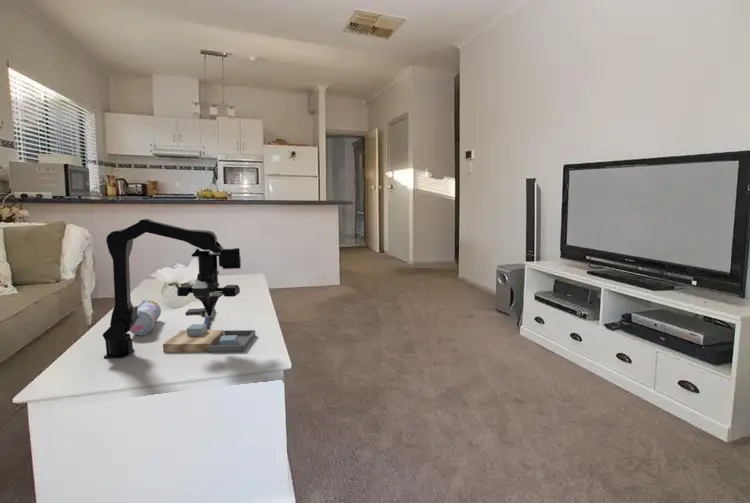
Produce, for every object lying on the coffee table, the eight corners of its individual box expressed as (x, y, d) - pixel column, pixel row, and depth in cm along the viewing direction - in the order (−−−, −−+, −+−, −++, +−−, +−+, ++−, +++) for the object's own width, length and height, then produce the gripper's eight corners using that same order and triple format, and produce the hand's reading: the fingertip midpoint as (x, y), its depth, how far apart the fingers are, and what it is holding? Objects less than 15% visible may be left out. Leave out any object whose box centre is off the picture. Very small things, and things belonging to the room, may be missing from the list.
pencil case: (138, 321, 174) (136, 298, 172) (162, 319, 176) (160, 297, 175) (127, 338, 154) (124, 312, 153) (154, 335, 157) (152, 310, 155)
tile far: (186, 335, 148) (186, 328, 148) (192, 331, 153) (192, 324, 153) (201, 335, 148) (201, 328, 148) (206, 331, 153) (206, 324, 153)
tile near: (219, 348, 143) (219, 340, 142) (222, 342, 147) (221, 335, 147) (235, 347, 143) (235, 339, 143) (237, 341, 148) (237, 334, 148)
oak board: (163, 351, 141) (162, 344, 140) (181, 337, 155) (181, 330, 154) (209, 351, 141) (209, 343, 141) (223, 336, 155) (223, 330, 155)
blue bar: (187, 308, 187) (216, 305, 191) (187, 313, 188) (217, 310, 191) (173, 333, 155) (208, 329, 158) (173, 339, 155) (209, 335, 158)
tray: (208, 352, 140) (207, 346, 140) (224, 335, 156) (223, 330, 156) (243, 351, 140) (242, 345, 140) (255, 335, 156) (255, 330, 156)
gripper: (168, 273, 134) (170, 322, 136) (228, 274, 134) (230, 323, 136) (183, 267, 145) (185, 313, 147) (239, 268, 145) (240, 313, 147)
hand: (210, 315), depth 144 cm, fingers closed
